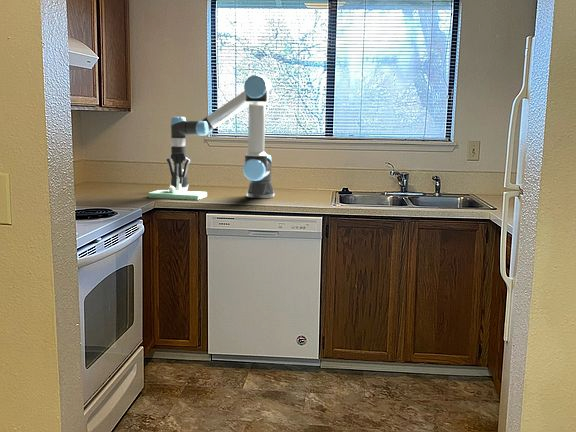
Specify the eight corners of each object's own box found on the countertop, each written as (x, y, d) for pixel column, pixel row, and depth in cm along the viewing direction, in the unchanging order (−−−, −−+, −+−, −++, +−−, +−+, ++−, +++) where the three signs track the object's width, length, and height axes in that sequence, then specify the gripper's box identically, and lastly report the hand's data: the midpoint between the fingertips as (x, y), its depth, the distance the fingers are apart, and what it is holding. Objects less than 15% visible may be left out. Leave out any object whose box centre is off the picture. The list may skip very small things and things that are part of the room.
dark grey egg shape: (167, 193, 334) (166, 166, 331) (175, 190, 344) (174, 164, 341) (184, 194, 331) (183, 167, 329) (191, 191, 341) (191, 165, 339)
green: (206, 196, 324) (206, 191, 324) (197, 200, 311) (197, 195, 310) (159, 194, 330) (159, 189, 329) (148, 197, 316) (148, 193, 316)
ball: (176, 187, 321) (171, 184, 321) (174, 188, 318) (169, 185, 318) (174, 193, 322) (168, 189, 322) (171, 193, 319) (166, 190, 319)
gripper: (192, 146, 317) (192, 189, 322) (169, 145, 320) (170, 188, 324) (187, 146, 310) (187, 191, 314) (164, 145, 313) (164, 190, 317)
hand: (178, 189), depth 319 cm, fingers closed
